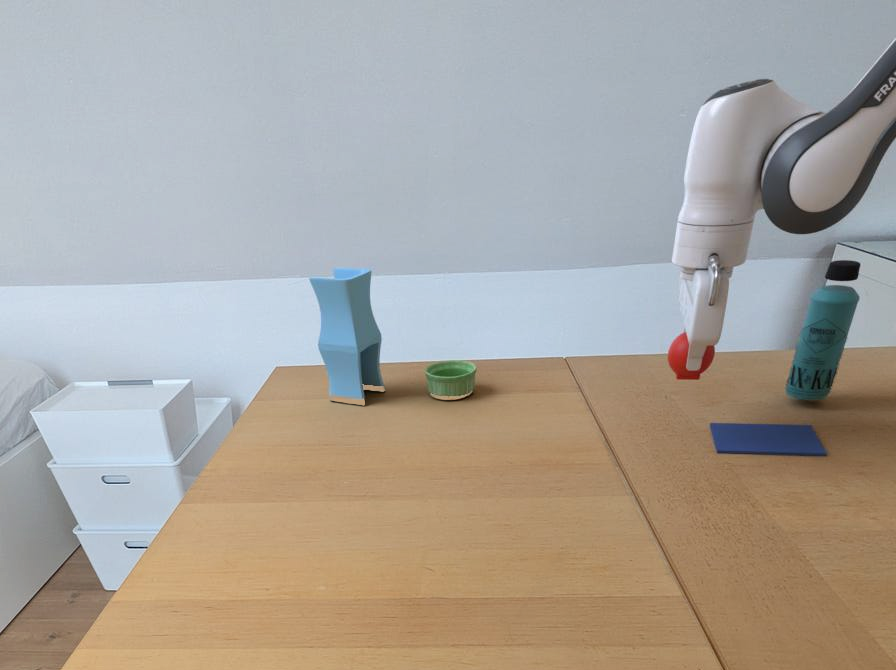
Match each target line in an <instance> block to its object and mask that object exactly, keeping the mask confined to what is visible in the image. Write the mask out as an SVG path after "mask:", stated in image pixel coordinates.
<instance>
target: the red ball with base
mask: <svg viewBox="0 0 896 670" xmlns="http://www.w3.org/2000/svg"><path fill="white" fill-rule="evenodd" d="M688 351H689V342H688V338H687V334H686V332H684V331H683V332H682V333H680V334H679V335H677V336H676V337H675V339H674V340H673V341H672V342H671V344H670V346H669V348H668V351H667V363H668V365H669V366H668V367H670V369H671V370H672V372H673V373H674V374H675V379H676V380H679V381H680V380H681V381H683V380H685V381H690V380H691V381H693V380H694V381H699V380H700V378H701V375H702V374H703V373H705V371H707V370H708V369H709V367H710V366H711V365H712V363H713V361H714V358H715V354H716V347H715V345H707V347H706V350H705V353H704V355H703V358H702V363H701V368H700V369H699V370H697V371H689V370H687V368H686V359H687V354H688Z"/></svg>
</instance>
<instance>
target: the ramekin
mask: <svg viewBox="0 0 896 670" xmlns="http://www.w3.org/2000/svg"><path fill="white" fill-rule="evenodd" d="M476 373H477V365H476V364H475V363H473V362H470V361H467V360H461V359H459V360H458V359H455V360H454V359H453V360H451V359H450V360H443V361H438V362H434V363H431V364H429V365H427V366H426V367H425V368H424V374H425V377H426V383H427V391H428V390H429V391H428V393H429V392H430V393H432V394H434V395H438V396H448V397H449V396H461V395H465V394H468V393H470V392H471V391H473V390H474V391H475V387H476V385H475V382H476Z"/></svg>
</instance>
